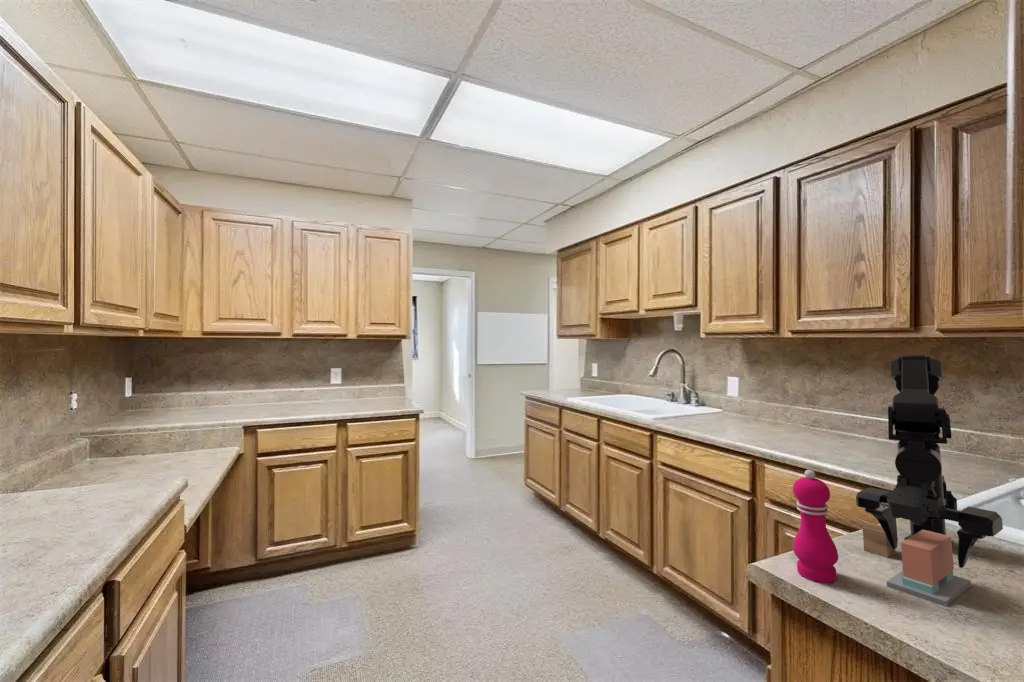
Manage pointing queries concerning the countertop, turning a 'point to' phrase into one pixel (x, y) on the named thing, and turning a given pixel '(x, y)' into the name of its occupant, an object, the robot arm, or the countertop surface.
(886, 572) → the countertop surface
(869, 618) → the countertop surface
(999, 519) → the robot arm
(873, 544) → the block
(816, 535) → the pepper mill
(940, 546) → the bar
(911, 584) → the build plate
